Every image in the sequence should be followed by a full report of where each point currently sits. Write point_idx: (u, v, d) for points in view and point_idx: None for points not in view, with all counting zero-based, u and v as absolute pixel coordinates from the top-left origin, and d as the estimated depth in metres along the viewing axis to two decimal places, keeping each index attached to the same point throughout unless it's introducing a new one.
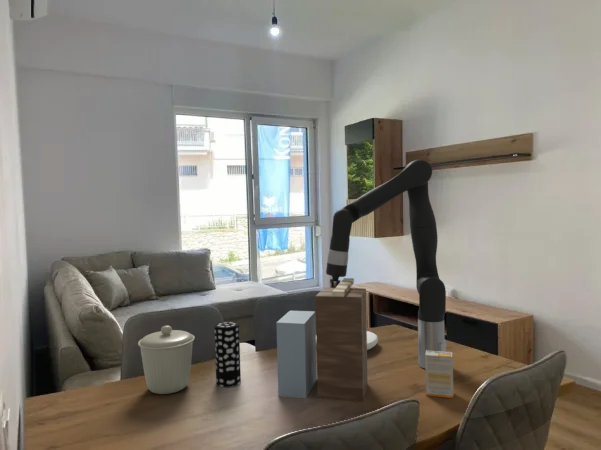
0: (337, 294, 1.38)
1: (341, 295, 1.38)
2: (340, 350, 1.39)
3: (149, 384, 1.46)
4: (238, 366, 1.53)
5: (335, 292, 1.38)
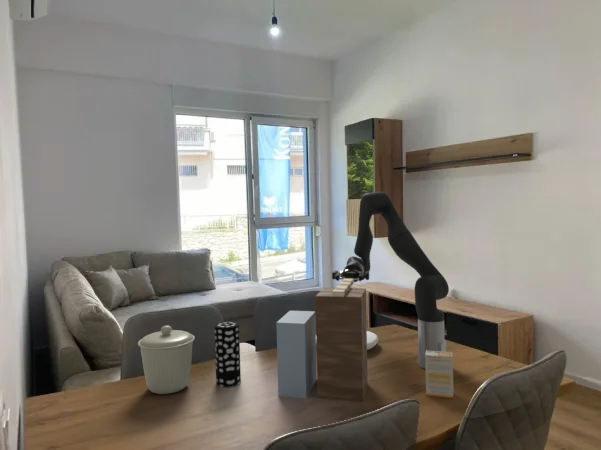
0: (337, 294, 1.38)
1: (341, 295, 1.38)
2: (340, 350, 1.39)
3: (149, 384, 1.46)
4: (238, 366, 1.53)
5: (335, 292, 1.38)
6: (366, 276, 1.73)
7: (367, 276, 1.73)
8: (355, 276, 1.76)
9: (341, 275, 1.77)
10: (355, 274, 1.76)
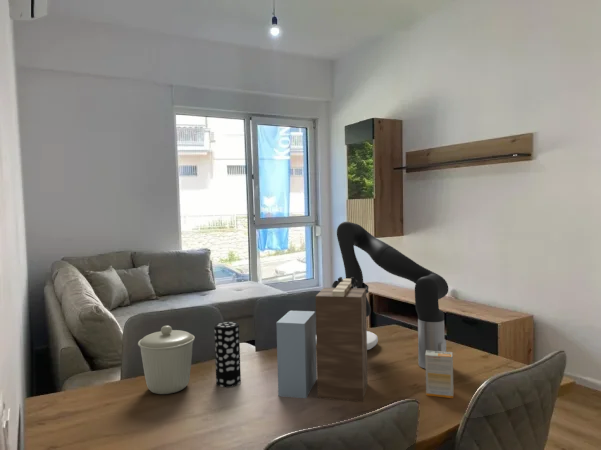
0: (337, 294, 1.38)
1: (341, 295, 1.38)
2: (340, 350, 1.39)
3: (149, 384, 1.46)
4: (238, 366, 1.53)
5: (335, 292, 1.38)
6: (358, 284, 1.58)
7: (359, 284, 1.58)
8: None
9: None
10: None
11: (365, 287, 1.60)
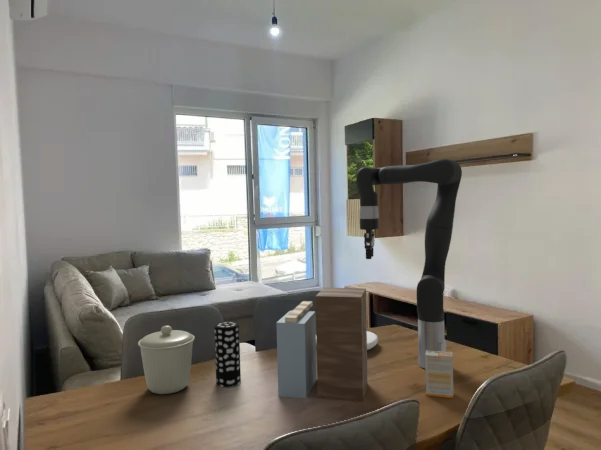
0: (289, 320, 1.41)
1: (293, 321, 1.41)
2: (340, 350, 1.39)
3: (149, 384, 1.46)
4: (238, 366, 1.53)
5: (288, 318, 1.42)
6: None
7: None
8: None
9: (368, 244, 1.79)
10: None
11: None
